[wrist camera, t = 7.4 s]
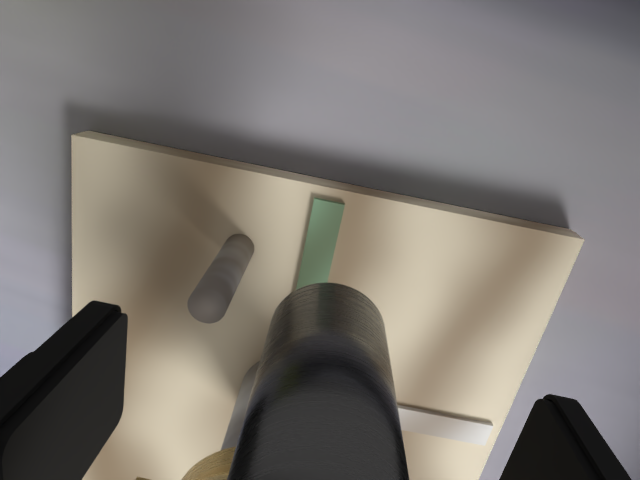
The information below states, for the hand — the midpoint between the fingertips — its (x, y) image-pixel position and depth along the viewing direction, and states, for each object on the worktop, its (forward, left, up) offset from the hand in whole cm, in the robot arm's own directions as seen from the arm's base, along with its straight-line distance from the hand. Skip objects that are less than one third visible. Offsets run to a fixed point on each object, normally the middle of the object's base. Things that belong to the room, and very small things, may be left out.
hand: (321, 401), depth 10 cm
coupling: (0, +4, -3) cm, 5 cm away
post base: (0, +7, -10) cm, 12 cm away
